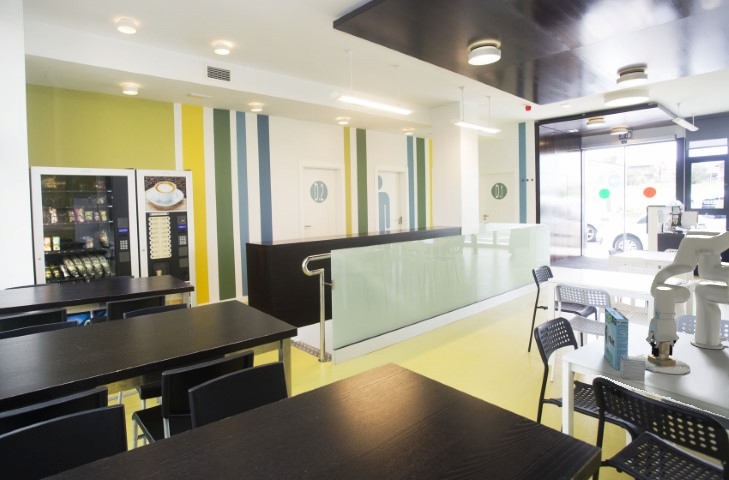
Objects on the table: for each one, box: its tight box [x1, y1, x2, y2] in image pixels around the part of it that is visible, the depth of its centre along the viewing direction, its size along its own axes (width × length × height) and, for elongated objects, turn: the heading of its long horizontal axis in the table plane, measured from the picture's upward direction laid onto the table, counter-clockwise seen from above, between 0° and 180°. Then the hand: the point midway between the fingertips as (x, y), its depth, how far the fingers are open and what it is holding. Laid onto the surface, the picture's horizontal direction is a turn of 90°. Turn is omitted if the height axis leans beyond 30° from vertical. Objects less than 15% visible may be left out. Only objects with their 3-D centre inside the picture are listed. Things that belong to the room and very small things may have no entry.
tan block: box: [655, 341, 670, 360], centre depth 182 cm, size 4×4×10 cm
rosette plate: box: [635, 354, 691, 376], centre depth 183 cm, size 20×20×4 cm
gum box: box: [603, 307, 629, 371], centre depth 186 cm, size 20×5×23 cm, turn 162°
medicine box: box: [619, 355, 646, 382], centre depth 171 cm, size 8×4×9 cm, turn 71°
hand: (661, 354), depth 182 cm, fingers open, 6 cm apart
